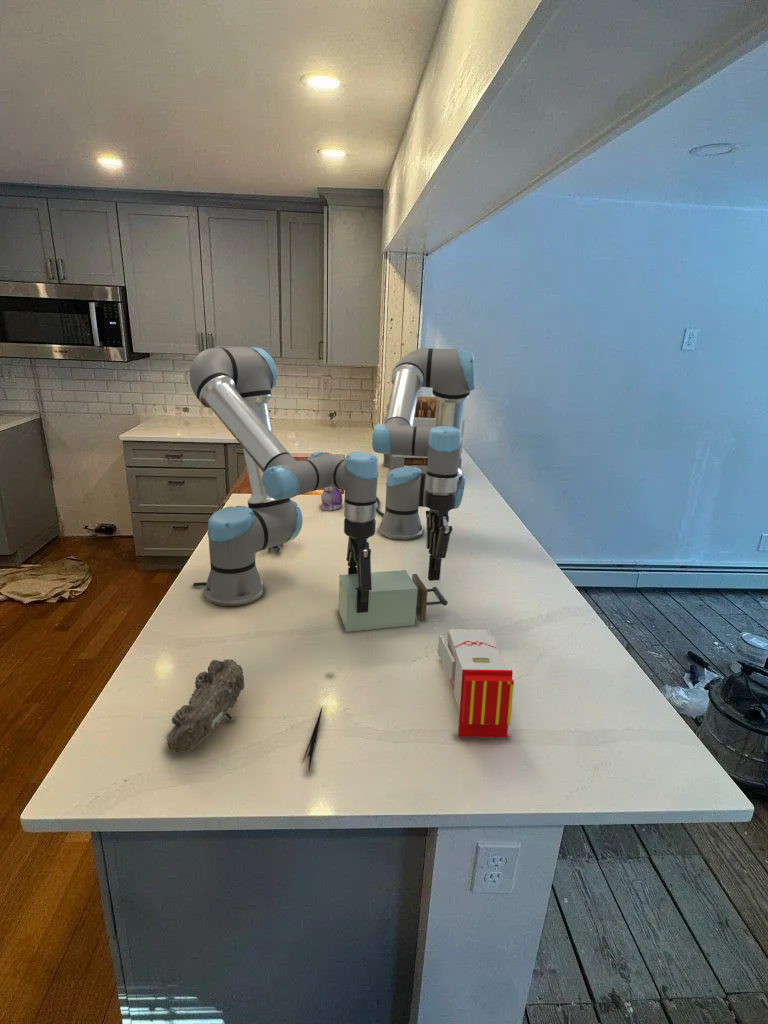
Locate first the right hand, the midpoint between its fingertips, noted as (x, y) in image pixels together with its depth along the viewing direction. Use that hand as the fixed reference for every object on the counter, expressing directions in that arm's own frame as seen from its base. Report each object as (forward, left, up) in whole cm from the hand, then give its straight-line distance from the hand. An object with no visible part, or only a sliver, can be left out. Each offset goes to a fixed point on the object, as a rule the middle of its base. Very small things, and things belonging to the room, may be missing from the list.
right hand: (433, 579), depth 145 cm
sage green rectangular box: (-7, -13, -10) cm, 18 cm away
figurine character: (-61, -10, -10) cm, 63 cm away
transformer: (-99, +91, -10) cm, 135 cm away
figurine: (-82, +27, -10) cm, 87 cm away
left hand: (-9, -18, -5) cm, 20 cm away
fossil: (+3, -62, -10) cm, 63 cm away
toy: (+28, -17, -10) cm, 34 cm away
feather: (+16, -46, -10) cm, 50 cm away
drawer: (-4, -7, -9) cm, 12 cm away
